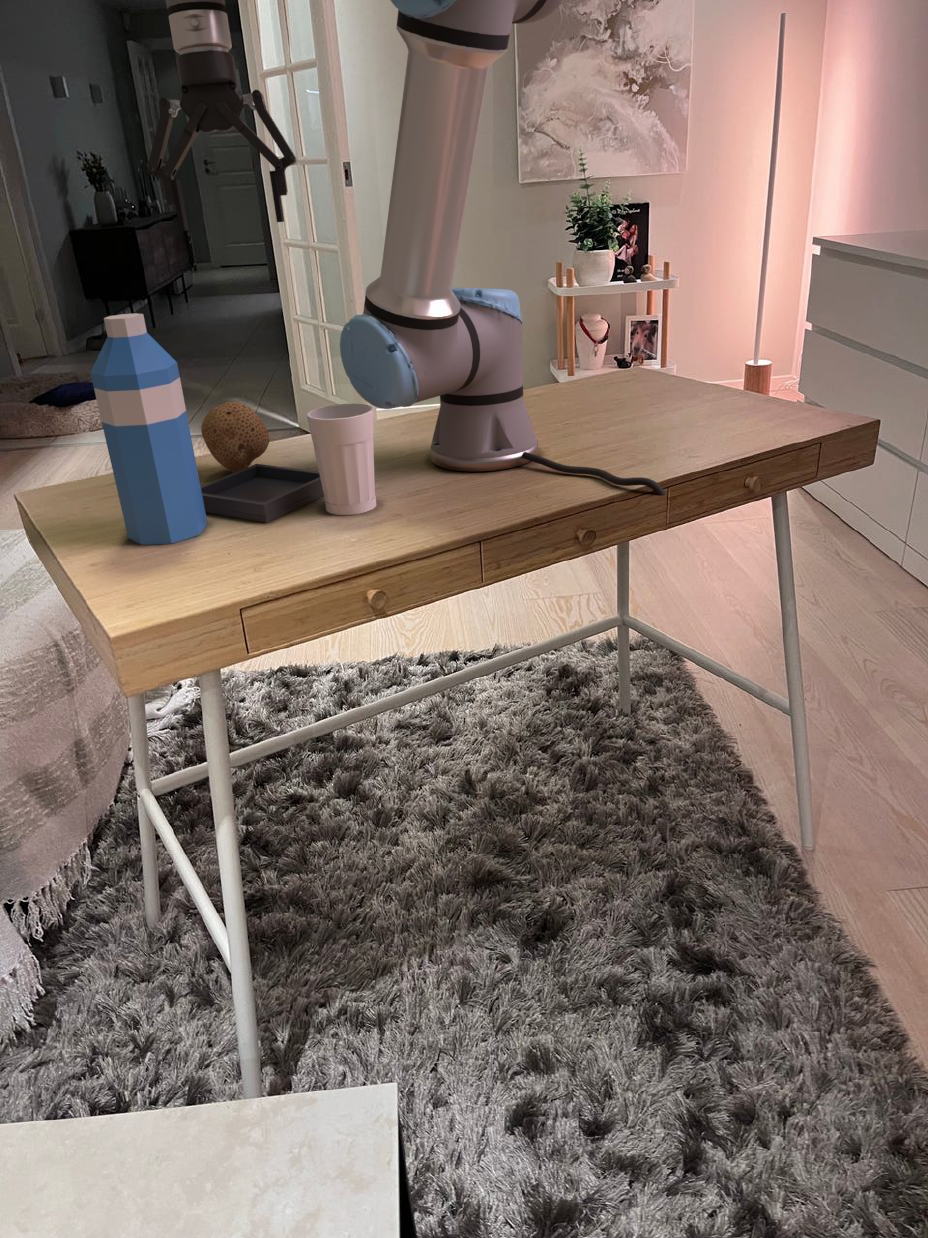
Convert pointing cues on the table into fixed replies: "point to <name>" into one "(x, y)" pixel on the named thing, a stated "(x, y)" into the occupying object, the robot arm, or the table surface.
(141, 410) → the water bottle
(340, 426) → the cup
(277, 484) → the soap dish
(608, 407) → the table surface
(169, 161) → the robot arm
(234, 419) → the natural sponge
